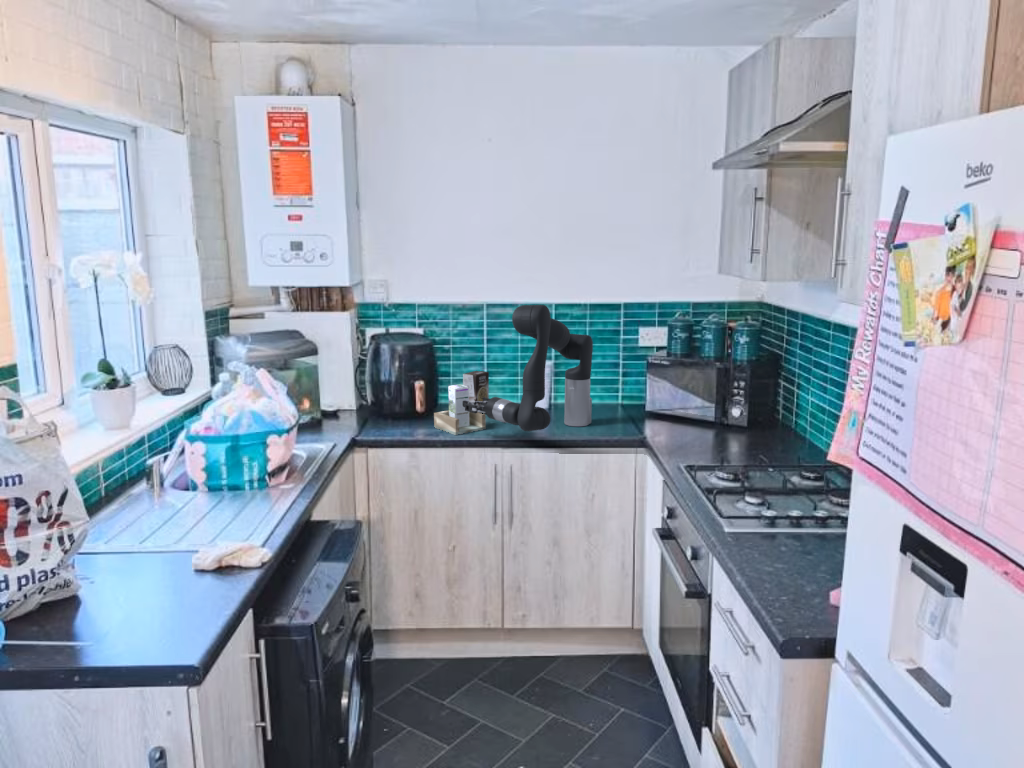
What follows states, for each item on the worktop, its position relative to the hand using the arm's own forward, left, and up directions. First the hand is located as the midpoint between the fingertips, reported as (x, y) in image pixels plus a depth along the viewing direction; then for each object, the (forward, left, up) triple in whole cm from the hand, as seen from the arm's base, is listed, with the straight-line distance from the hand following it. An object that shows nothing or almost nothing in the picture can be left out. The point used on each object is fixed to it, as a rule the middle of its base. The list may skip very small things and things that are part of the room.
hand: (473, 401), depth 267 cm
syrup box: (0, -9, -10) cm, 14 cm away
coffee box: (-19, -24, -11) cm, 33 cm away
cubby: (0, -8, -11) cm, 14 cm away
